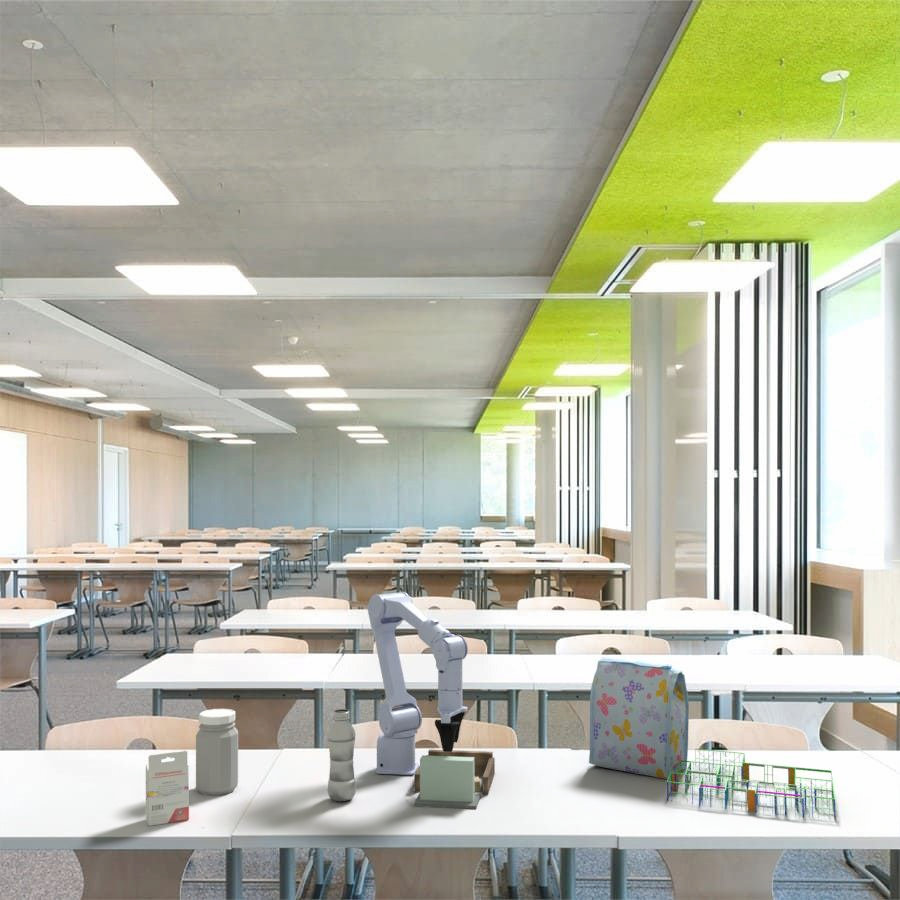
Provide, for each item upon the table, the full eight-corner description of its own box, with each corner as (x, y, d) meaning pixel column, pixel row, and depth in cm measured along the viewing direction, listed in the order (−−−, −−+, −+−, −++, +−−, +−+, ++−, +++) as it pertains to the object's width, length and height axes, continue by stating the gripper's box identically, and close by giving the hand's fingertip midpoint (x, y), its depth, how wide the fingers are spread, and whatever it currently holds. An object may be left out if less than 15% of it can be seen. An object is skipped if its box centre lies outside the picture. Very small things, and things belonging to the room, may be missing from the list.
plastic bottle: (361, 796, 212) (360, 708, 213) (348, 806, 206) (348, 715, 207) (335, 793, 215) (335, 706, 215) (322, 803, 208) (322, 713, 209)
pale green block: (420, 799, 208) (419, 759, 209) (422, 795, 211) (422, 755, 212) (473, 802, 206) (472, 761, 207) (474, 797, 209) (474, 757, 210)
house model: (666, 804, 207) (666, 782, 207) (681, 766, 235) (681, 747, 235) (835, 822, 195) (835, 799, 195) (830, 780, 223) (830, 760, 223)
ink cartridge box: (186, 813, 202) (186, 745, 203) (189, 820, 198) (189, 750, 199) (144, 818, 199) (145, 749, 200) (147, 826, 195) (147, 755, 195)
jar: (241, 793, 215) (241, 715, 216) (198, 799, 211) (198, 719, 212) (234, 781, 224) (234, 706, 225) (193, 786, 220) (193, 710, 221)
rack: (414, 791, 216) (414, 769, 216) (427, 769, 232) (426, 749, 233) (488, 794, 213) (487, 772, 213) (495, 772, 230) (495, 751, 230)
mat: (413, 806, 206) (413, 803, 206) (420, 794, 214) (420, 791, 214) (476, 808, 204) (476, 806, 204) (480, 796, 212) (480, 794, 212)
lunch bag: (695, 765, 234) (693, 659, 236) (674, 783, 220) (672, 671, 221) (611, 752, 246) (610, 652, 247) (586, 769, 232) (585, 662, 233)
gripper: (462, 695, 210) (462, 756, 210) (471, 682, 224) (471, 738, 224) (432, 694, 211) (432, 755, 211) (442, 681, 225) (442, 737, 225)
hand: (450, 746), depth 217 cm, fingers open, 7 cm apart
